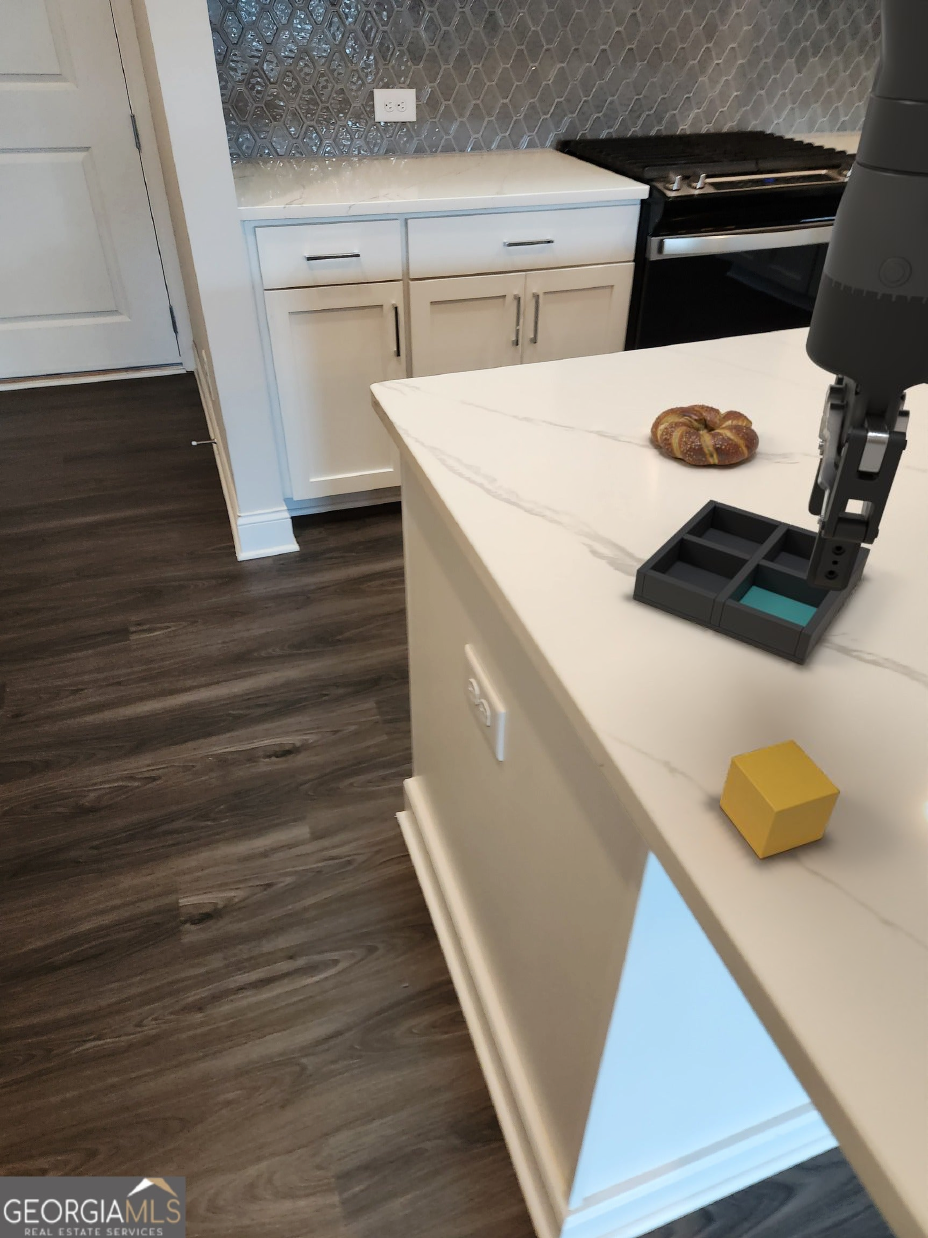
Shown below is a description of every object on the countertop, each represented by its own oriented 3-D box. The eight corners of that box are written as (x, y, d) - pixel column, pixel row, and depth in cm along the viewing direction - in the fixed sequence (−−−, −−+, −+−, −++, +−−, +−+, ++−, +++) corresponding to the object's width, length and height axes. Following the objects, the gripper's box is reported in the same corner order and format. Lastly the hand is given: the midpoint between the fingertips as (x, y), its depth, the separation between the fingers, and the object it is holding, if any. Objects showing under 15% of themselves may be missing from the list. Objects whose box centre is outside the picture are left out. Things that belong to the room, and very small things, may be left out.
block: (821, 838, 51) (841, 791, 48) (760, 859, 50) (776, 811, 47) (777, 786, 55) (792, 738, 52) (718, 804, 53) (731, 757, 51)
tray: (861, 577, 73) (870, 548, 71) (802, 665, 64) (811, 635, 62) (705, 525, 81) (710, 498, 79) (632, 598, 71) (636, 569, 70)
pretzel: (633, 454, 93) (637, 423, 91) (668, 418, 100) (672, 389, 98) (739, 479, 88) (745, 447, 85) (767, 440, 95) (774, 410, 93)
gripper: (1018, 318, 34) (899, 628, 44) (971, 238, 45) (884, 501, 55) (824, 304, 36) (753, 602, 46) (824, 230, 47) (766, 485, 57)
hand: (824, 547), depth 50 cm, fingers open, 8 cm apart
